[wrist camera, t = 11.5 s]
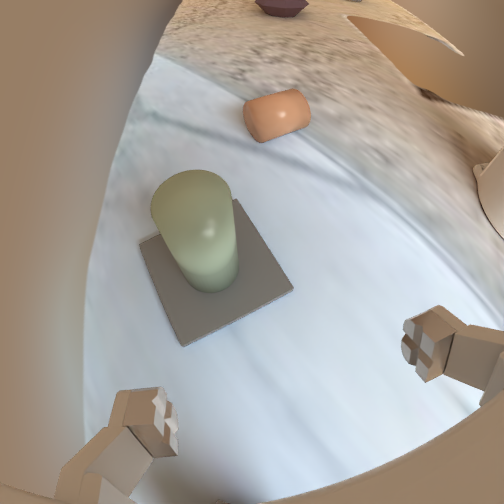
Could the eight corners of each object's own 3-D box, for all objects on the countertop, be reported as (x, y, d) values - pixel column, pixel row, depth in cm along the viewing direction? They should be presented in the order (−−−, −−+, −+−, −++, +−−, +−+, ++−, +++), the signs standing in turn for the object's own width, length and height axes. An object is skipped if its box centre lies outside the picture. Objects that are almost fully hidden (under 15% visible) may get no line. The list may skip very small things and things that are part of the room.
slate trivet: (236, 202, 34) (236, 198, 33) (292, 290, 29) (293, 287, 28) (141, 248, 31) (138, 244, 30) (183, 347, 26) (181, 345, 26)
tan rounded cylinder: (304, 88, 33) (314, 129, 37) (281, 89, 38) (290, 125, 41) (258, 101, 32) (271, 145, 35) (238, 101, 36) (250, 140, 40)
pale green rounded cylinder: (223, 233, 31) (211, 159, 21) (249, 276, 29) (246, 213, 19) (175, 256, 30) (141, 190, 20) (197, 302, 28) (166, 251, 18)
